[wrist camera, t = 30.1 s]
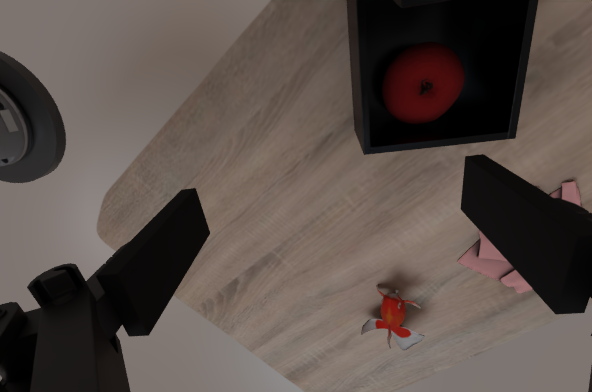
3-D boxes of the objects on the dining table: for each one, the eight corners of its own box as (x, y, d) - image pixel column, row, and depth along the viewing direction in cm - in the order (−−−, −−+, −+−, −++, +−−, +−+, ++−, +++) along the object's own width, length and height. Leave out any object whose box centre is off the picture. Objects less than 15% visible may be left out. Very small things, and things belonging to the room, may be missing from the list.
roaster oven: (467, 117, 42) (515, 138, 31) (354, 130, 44) (363, 154, 33) (481, -37, 35) (551, -77, 24) (345, -12, 37) (354, -38, 26)
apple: (423, 126, 42) (449, 146, 33) (364, 102, 41) (375, 116, 32) (461, 59, 38) (503, 61, 29) (397, 31, 38) (420, 24, 29)
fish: (447, 293, 50) (437, 354, 44) (419, 322, 62) (408, 372, 56) (383, 268, 53) (366, 321, 47) (368, 300, 65) (353, 345, 59)
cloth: (520, 302, 55) (528, 312, 53) (429, 243, 51) (433, 251, 49) (631, 223, 46) (646, 232, 44) (531, 147, 43) (542, 152, 41)
